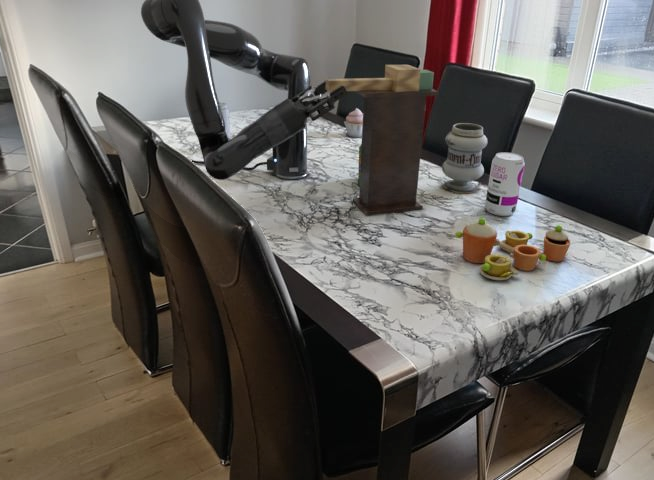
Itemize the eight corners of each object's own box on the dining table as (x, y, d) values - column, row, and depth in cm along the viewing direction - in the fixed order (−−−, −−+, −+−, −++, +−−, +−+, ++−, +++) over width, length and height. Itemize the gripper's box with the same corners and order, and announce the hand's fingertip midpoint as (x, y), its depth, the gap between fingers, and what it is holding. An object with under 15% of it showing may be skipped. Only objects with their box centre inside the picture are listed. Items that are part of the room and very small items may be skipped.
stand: (361, 216, 146) (367, 94, 132) (347, 202, 154) (351, 85, 140) (427, 208, 153) (440, 92, 139) (410, 195, 161) (420, 84, 147)
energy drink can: (234, 152, 188) (231, 105, 181) (216, 154, 185) (212, 106, 178) (227, 147, 192) (223, 101, 185) (209, 149, 189) (205, 102, 182)
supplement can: (516, 208, 157) (527, 154, 150) (513, 219, 150) (523, 162, 143) (487, 203, 159) (495, 150, 152) (482, 213, 152) (491, 158, 145)
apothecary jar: (431, 186, 169) (438, 124, 160) (455, 178, 177) (463, 118, 168) (465, 198, 162) (474, 134, 153) (488, 188, 170) (498, 127, 161)
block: (417, 90, 139) (419, 72, 137) (410, 86, 143) (411, 69, 141) (432, 89, 141) (434, 72, 139) (424, 86, 144) (426, 69, 142)
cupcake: (353, 130, 220) (354, 104, 215) (373, 135, 216) (374, 108, 211) (338, 135, 214) (338, 107, 209) (358, 140, 209) (359, 112, 204)
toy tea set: (492, 287, 117) (500, 244, 112) (444, 256, 128) (450, 216, 124) (578, 262, 130) (589, 222, 125) (528, 236, 141) (536, 198, 136)
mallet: (332, 93, 130) (332, 70, 128) (322, 87, 136) (322, 65, 133) (418, 91, 138) (420, 69, 136) (405, 85, 144) (407, 64, 141)
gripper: (280, 116, 124) (342, 76, 125) (264, 102, 136) (321, 65, 137) (297, 145, 129) (357, 106, 130) (280, 129, 140) (335, 93, 141)
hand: (338, 85), depth 133 cm, fingers open, 8 cm apart
